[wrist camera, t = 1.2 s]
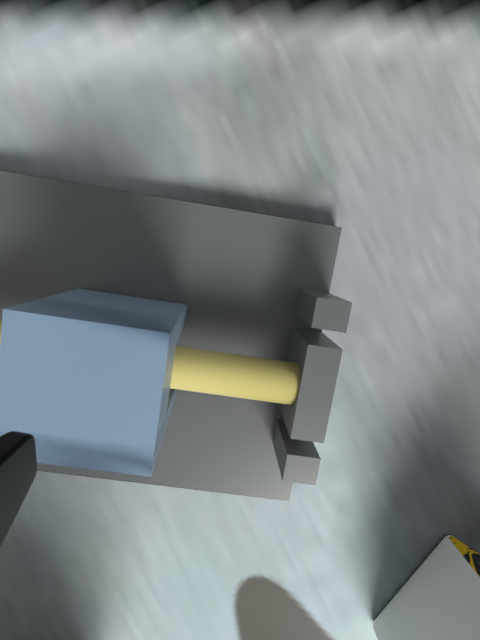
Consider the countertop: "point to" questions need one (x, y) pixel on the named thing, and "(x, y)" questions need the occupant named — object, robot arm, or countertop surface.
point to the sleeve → (90, 377)
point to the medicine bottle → (437, 598)
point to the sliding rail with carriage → (198, 320)
